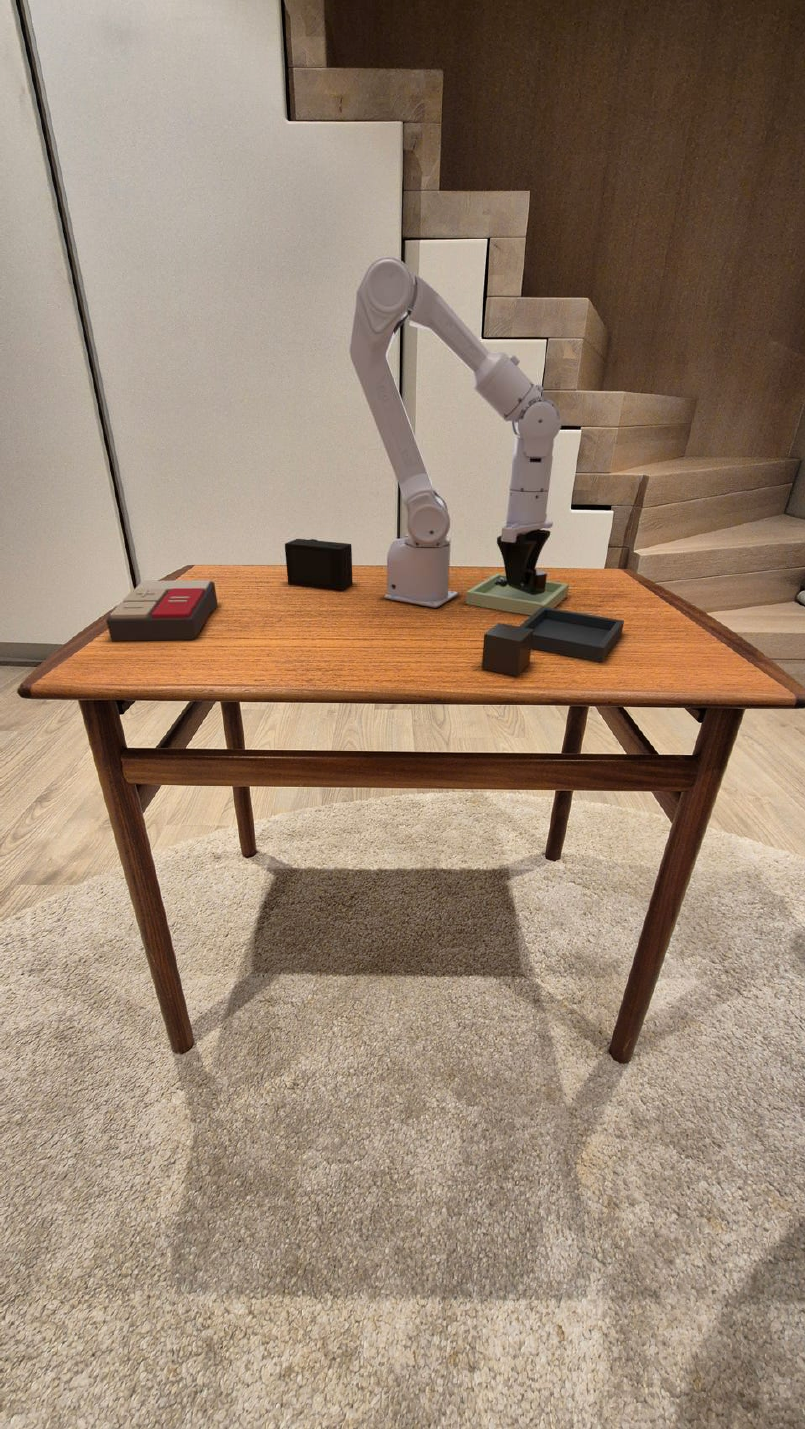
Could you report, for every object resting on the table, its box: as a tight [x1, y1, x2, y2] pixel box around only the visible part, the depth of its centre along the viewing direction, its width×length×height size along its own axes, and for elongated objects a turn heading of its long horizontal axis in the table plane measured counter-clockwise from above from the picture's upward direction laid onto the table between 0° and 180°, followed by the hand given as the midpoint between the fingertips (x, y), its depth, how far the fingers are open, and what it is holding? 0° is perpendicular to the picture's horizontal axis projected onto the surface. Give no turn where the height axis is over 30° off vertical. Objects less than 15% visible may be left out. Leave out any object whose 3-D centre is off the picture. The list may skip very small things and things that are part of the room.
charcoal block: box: [481, 622, 533, 678], centre depth 72 cm, size 4×4×4 cm
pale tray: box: [465, 573, 570, 617], centre depth 96 cm, size 13×13×2 cm
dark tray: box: [518, 607, 625, 663], centre depth 80 cm, size 12×12×2 cm
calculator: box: [106, 579, 218, 642], centre depth 84 cm, size 11×4×15 cm
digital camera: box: [284, 538, 354, 592], centre depth 101 cm, size 10×5×7 cm, turn 69°
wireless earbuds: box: [494, 566, 548, 595], centre depth 94 cm, size 5×7×3 cm, turn 32°
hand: (519, 580), depth 94 cm, fingers closed on wireless earbuds, 4 cm apart
